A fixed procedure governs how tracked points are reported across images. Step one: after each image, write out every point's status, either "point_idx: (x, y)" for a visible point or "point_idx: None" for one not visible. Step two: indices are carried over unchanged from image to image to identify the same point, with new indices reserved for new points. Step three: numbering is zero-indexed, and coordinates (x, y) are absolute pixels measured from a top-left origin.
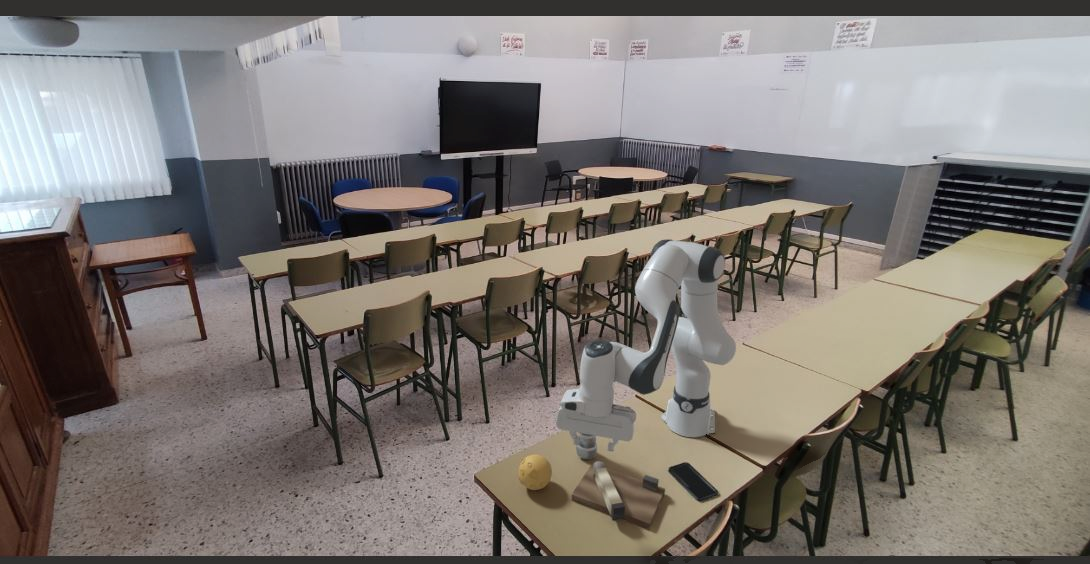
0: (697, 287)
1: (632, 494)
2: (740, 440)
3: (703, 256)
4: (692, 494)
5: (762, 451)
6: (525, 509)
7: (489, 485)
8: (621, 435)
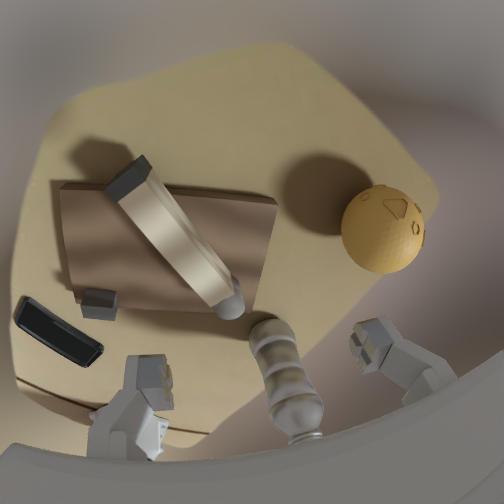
0: None
1: (127, 262)
2: (57, 407)
3: None
4: (39, 307)
5: (29, 396)
6: (369, 136)
7: (435, 185)
8: (48, 496)
